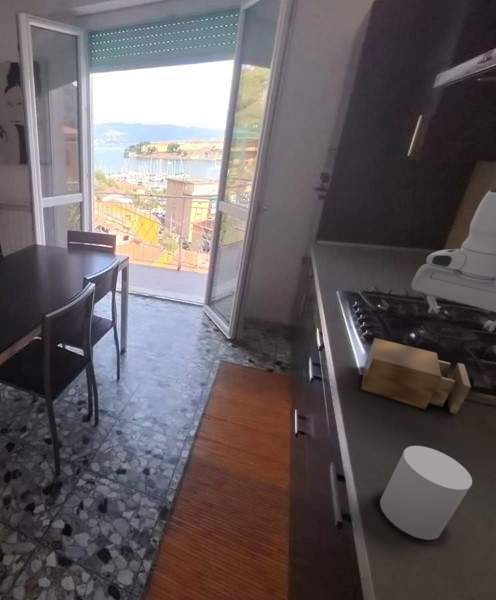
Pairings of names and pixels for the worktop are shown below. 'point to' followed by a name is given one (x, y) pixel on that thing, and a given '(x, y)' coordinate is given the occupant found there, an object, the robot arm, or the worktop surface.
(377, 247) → the worktop surface
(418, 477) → the cup
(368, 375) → the cabinet
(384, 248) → the worktop surface
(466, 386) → the drawer
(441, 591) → the worktop surface
